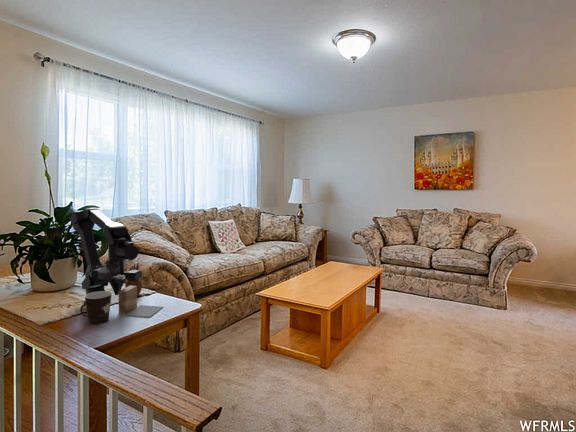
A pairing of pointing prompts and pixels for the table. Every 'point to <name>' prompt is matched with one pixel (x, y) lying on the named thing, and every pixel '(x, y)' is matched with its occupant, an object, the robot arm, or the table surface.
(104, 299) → the coffee mug
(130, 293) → the wooden block
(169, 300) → the table surface
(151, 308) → the rubber mat
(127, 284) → the wooden figurine
